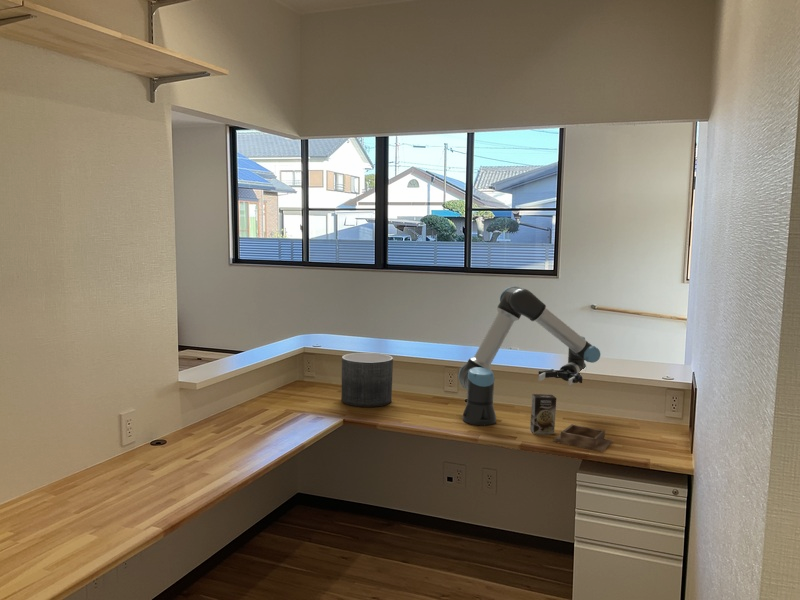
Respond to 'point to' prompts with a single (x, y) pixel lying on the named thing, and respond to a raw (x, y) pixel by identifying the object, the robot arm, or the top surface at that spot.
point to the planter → (367, 379)
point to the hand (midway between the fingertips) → (554, 380)
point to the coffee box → (543, 414)
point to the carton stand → (584, 438)
